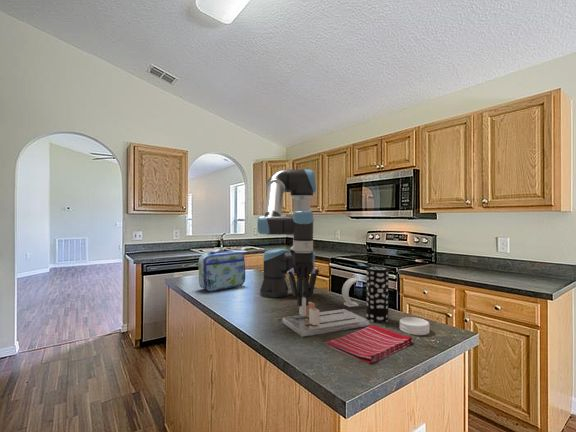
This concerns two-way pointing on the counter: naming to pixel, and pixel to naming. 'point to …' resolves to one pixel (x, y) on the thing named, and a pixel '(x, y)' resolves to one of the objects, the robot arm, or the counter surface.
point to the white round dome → (414, 326)
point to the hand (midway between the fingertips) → (302, 314)
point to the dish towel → (370, 344)
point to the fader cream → (314, 316)
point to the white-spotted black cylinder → (377, 294)
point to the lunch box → (221, 270)
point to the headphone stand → (346, 292)
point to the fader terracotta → (309, 306)
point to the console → (325, 322)
